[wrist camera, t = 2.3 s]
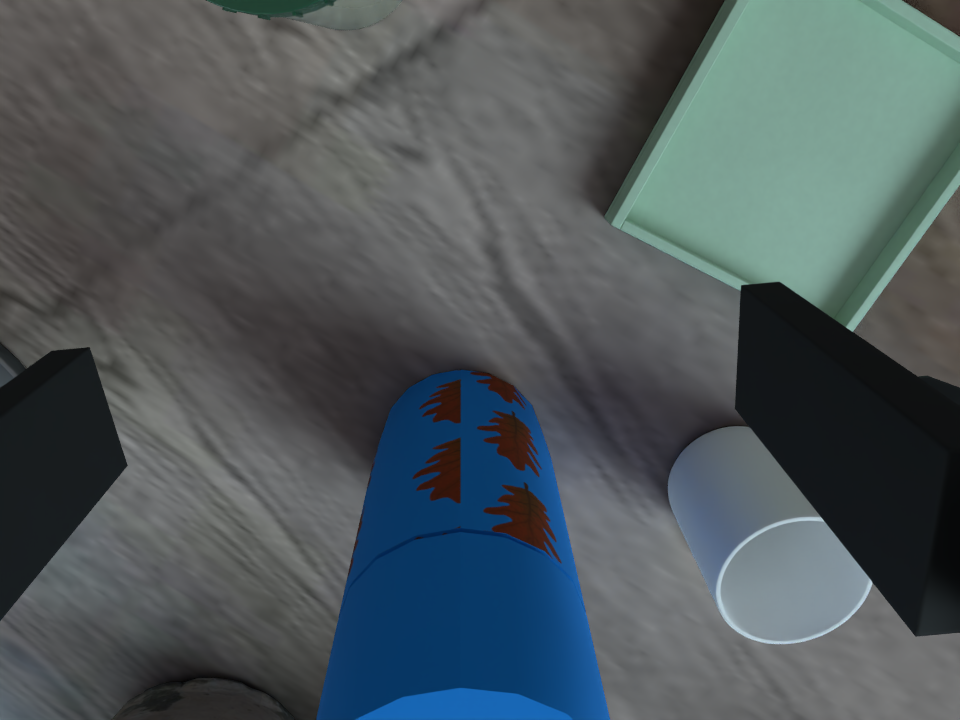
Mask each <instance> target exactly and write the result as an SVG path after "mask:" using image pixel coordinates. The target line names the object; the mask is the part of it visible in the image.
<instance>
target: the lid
mask: <svg viewBox="0 0 960 720" xmlns="http://www.w3.org/2000/svg"><path fill="white" fill-rule="evenodd" d="M206 1H209V2H211V3H213V4H215V5H218V6H220V7H223V10H225V11H229V12H234V13H237V12H242V13H246V14H251V15H257V16H258V18H261V19H266V20H270V17H291V16H296V17H299V18H303V14H307V13H310V12H313V11H317V10H319V9H321V8H323V7H325V6H328V5H329V6H334V3H333V2H335V1H336V0H206Z"/></svg>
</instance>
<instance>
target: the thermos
mask: <svg viewBox="0 0 960 720" xmlns="http://www.w3.org/2000/svg"><path fill="white" fill-rule="evenodd" d="M316 720H610V717H609V713H608V708H607V704H606V700H605V695H604V691H603V686H602V682H601V677H600V673H599V669H598V664H597V660H596V655H595V651H594V646H593V642H592V637H591V633H590V629H589V624H588V620H587V616H586V611H585V606H584V602H583V598H582V593H581V589H580V584H579V580H578V575H577V571H576V567H575V562H574V558H573V553H572V549H571V544H570V540H569V536H568V531H567V527H566V522H565V518H564V513H563V509H562V504H561V500H560V496H559V491H558V487H557V482H556V478H555V473H554V469H553V465H552V460H551V457H550V454H549V451H548V448H547V445H546V442H545V439H544V436H543V433H542V430H541V427H540V425H539V422H538V420H537V417H536V414H535V412H534V409H533V407H532V405H531V404H530V403H529V402H528V401H527V400H526V398H525V397H524V396H523V395H522V394H521V393H520V392H519V391H518V390H517V389H516V388H515V387H514V386H513V385H511V384H509V383H507V382H505V381H503V380H501V379H499V378H497V377H495V376H493V375H491V374H489V373H482V372H475V371H468V370H461V369H460V370H455V371H449V372H444V373H438V374H433V375H431V376H429V377H427V378H425V379H424V380H422V381H420V382H418V383H417V384H415V385H413V386H411V387H409V388H408V389H407V390H406V391H405V392H404V394H403V395H402V396H401V397H400V398H399V399H398V401H397V402H396V403H395V404H394V405H393V406H392V408H391V410H390V413H389V416H388V419H387V422H386V424H385V427H384V430H383V433H382V436H381V439H380V442H379V445H378V448H377V451H376V454H375V457H374V460H373V464H372V469H371V473H370V478H369V482H368V487H367V491H366V496H365V500H364V505H363V509H362V514H361V518H360V523H359V528H358V532H357V537H356V541H355V546H354V550H353V555H352V559H351V564H350V568H349V573H348V577H347V582H346V587H345V591H344V596H343V600H342V605H341V609H340V614H339V620H338V623H337V627H336V632H335V636H334V641H333V646H332V650H331V655H330V659H329V664H328V668H327V673H326V677H325V682H324V686H323V691H322V695H321V700H320V705H319V709H318V714H317V718H316Z"/></svg>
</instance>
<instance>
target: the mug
mask: <svg viewBox="0 0 960 720" xmlns="http://www.w3.org/2000/svg"><path fill="white" fill-rule="evenodd" d="M668 497H669V502H670V506H671V509H672V511H673V514H674V516H675V518H676V520H677V522H678V524H679V527H680V529H681V531H682V533H683V535H684V537H685V539H686V541H687V544H688V546H689V548H690V550H691V552H692V554H693V556H694V559H695V561H696V563H697V565H698V567H699V569H700V571H701V573H702V576H703V578H704V580H705V582H706V584H707V586H708V588H709V590H710V593H711V595H712V597H713V599H714V601H715V603H716V605H717V608H718V610H719V612H720V614H721V616H722V617H723V618H724V620H725V621H726V622H727V623H728V624H729V625H730V627H732V628H733V629H734V630H736V631H737V632H738V633H740V634H742V635H743V636H745V637H747V638H750V639H752V640H755V641H759V642H763V643H770V644H792V643H798V642H803V641H807V640H811V639H814V638H817V637H819V636H822V635H824V634H826V633H828V632H830V631H832V630H833V629H835V628H837V627H838V626H840V625H841V624H843V623H844V622H845V621H847V620H848V619H849V618H850V617H851V616H852V615H853V614H854V613H855V612H856V611H857V610H858V609H859V607H860V606H861V605H862V603H863V602H864V600H865V599H866V597H867V595H868V593H869V591H870V589H871V586H872V583H873V582H872V581H871V580H870V578H869V577H868V576H867V575H866V573H865V572H864V571H863V570H862V568H861V567H860V566H859V564H858V563H857V562H856V561H855V559H854V558H853V557H852V556H851V554H850V553H849V552H848V551H847V549H846V548H845V547H844V546H843V544H842V543H841V542H840V540H839V539H838V538H837V537H836V535H835V534H834V533H833V532H832V530H831V529H830V528H829V527H828V525H827V524H826V523H825V522H824V520H823V519H822V518H821V517H820V515H819V514H818V513H817V511H816V510H815V509H814V508H813V506H812V505H811V504H810V503H809V501H808V500H807V499H806V498H805V496H804V495H803V494H802V493H801V491H800V490H799V489H798V488H797V486H796V485H795V484H794V482H793V481H792V480H791V479H790V477H789V476H788V475H787V474H786V472H785V471H784V470H783V469H782V467H781V466H780V465H779V464H778V462H777V461H776V460H775V458H774V457H773V456H772V455H771V453H770V452H769V451H768V450H767V448H766V447H765V446H764V445H763V443H762V442H761V441H760V440H759V438H758V437H757V436H756V435H755V433H754V432H753V431H752V429H751V428H750V427H745V426H732V427H725V428H720V429H717V430H713V431H711V432H708V433H706V434H704V435H702V436H701V437H699V438H697V439H696V440H694V441H693V442H692V443H690V444H689V445H688V446H687V447H686V448H685V449H684V450H683V451H682V453H681V454H680V455H679V457H678V458H677V460H676V461H675V463H674V465H673V467H672V469H671V472H670V475H669V480H668Z"/></svg>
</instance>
